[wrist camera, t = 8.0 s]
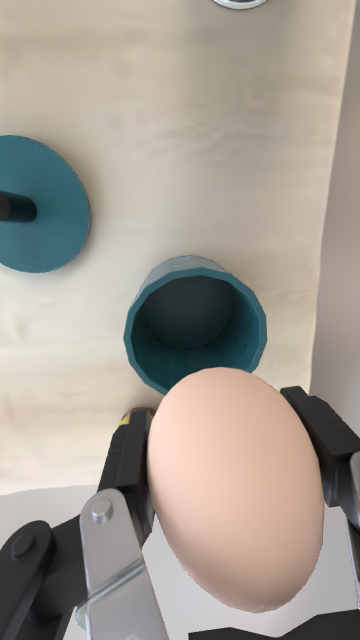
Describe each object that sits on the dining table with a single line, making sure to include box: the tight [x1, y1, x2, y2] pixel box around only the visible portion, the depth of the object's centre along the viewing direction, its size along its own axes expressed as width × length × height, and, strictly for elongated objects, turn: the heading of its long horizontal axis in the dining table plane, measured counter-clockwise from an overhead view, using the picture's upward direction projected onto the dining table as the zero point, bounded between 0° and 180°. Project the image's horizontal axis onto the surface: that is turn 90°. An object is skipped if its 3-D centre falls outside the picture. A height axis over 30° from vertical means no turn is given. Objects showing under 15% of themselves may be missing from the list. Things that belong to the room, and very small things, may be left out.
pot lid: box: [0, 135, 90, 273], centre depth 24 cm, size 13×13×6 cm
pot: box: [123, 255, 267, 396], centre depth 26 cm, size 12×12×10 cm
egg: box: [146, 367, 324, 613], centre depth 9 cm, size 6×6×8 cm
